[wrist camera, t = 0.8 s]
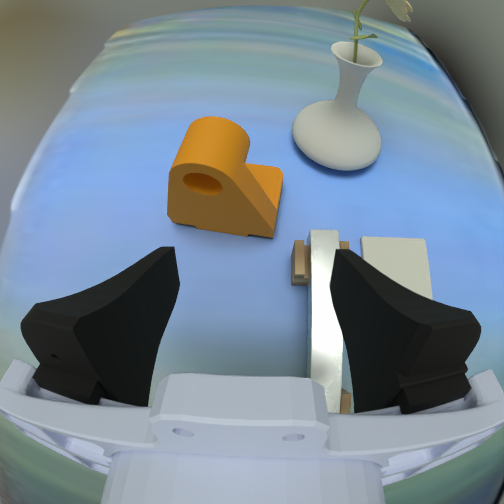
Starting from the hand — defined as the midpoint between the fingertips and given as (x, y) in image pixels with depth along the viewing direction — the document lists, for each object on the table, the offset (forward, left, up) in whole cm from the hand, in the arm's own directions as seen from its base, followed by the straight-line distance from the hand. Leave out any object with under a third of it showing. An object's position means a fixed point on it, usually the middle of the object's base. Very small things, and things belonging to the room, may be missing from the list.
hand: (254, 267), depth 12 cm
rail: (-3, -5, -12) cm, 13 cm away
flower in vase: (+21, -9, -15) cm, 28 cm away
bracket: (+11, +4, -15) cm, 19 cm away
